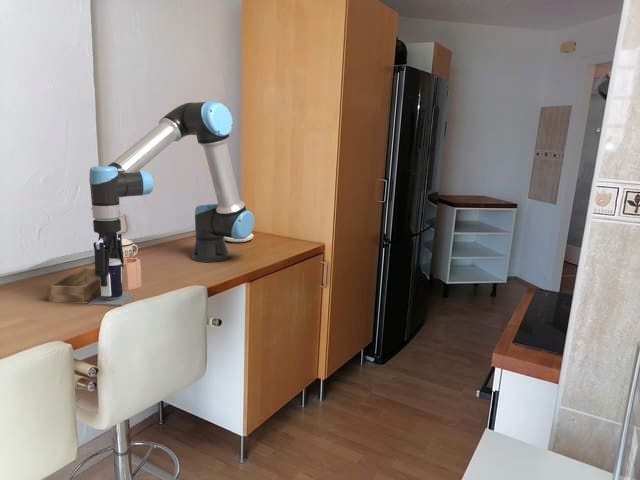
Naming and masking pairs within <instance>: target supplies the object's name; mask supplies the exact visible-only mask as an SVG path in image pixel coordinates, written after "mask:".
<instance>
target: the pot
mask: <svg viewBox="0 0 640 480" xmlns="http://www.w3.org/2000/svg"><path fill="white" fill-rule="evenodd" d="M123 259H124V264H122V265H124V267H123V268H122V291H131V290H137V289H139V288H140V287H141V286H142V270H141V269H142V268H141V267H142V266H141V259H140V258H137V257H133V258H123Z"/></svg>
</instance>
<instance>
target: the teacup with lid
mask: <svg viewBox="0 0 640 480" xmlns="http://www.w3.org/2000/svg"><path fill="white" fill-rule="evenodd" d="M133 247H134V248H133ZM122 250H123V258H134V257H135V256H136V255H137V253H138V250H139V248H138V245H137V244H136V243H135V244H134V242H133V240H131V239H127V238H125V237H124V236H123V235H122Z"/></svg>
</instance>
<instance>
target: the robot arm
mask: <svg viewBox="0 0 640 480" xmlns="http://www.w3.org/2000/svg"><path fill="white" fill-rule="evenodd" d="M233 121H234V120H233V117H232V114H231V112H230V110H229V109H228V107H227V106H226V105H224V104H223V103H220V102H216V101H215V102H214V101H202V102H200V101H199V102H185V103H183V104H181V105H179V106H177V107H175V108H174V109H172V110H171V111H169V112H168V113H166V114H165V115H164V116H163V117H161V118H160V120H159V121H158V125H157V126H155V127H154V128H153V129H151V130H150V131H149V132H148V133H147V134H145V135H144V136H143V137H141V138H140V139H139V140H137V142H136V143H134V144H133V145H132V146H130V147H129V148H127V150H126V151H124V152H123V153H122V154H120V156H118V157H117V158H115V159H114V160H113V161H112V162H111V163H109V164H108V165H98V166H96V165H95V166H92V167H90V169H89V185H90V186H89V187H90V188H89V189H90V197H91V208H90V210H91V212H92V218H93V220H92V225H93V226H92V228H93V232H94V233H95V234H98V240H97V242H96V241H95V242H93V250H94V268H95V275H96V276H100V285H101V294H100V295H101V296H111V283H110V275H108V271H109V260H110V259H111V258H115V259H120V261H121V263H122V264H124V259H123V250H122V236H123V234H122V233H118V232H121V230H122V225H121V224H122V223H121V219H120V217H121V208H120V206H121V205H120V198H126V197H128V198H129V197H137V196H138V197H139V196H140V197H141V196H145V195H150V194H151V193H152V192H153V191H154V186H155V185H154V184H155V183H154V182H155V181H154V178H153V176H152V174H151V173H149V172H148V171H140V170H141V169H143V168H144V167H145V166H146V165H147V164H148V163H150V162H151V161H152V160H153V159H155V158H156V157H157V156H158V155H159V154H160V153H162V152H163V151H164V150H165V149H166V148H168V147H169V146H170V145H171V144H172V143H173V142H179V141H180V140H181V139H183V138H185V137H187V136H188V137H189V136H196V140H197V143H198V144H199V145H201V146H202V147H203V149H204V154H205V157H206V161H207V165H208V169H209V173H210V176H211V180H212V185H213V189H214V193H215V197H216V200H217V203H208V204H201V205H200V204H199V205H197V206H196V207H195V208H194V209H195V210H194V226H195V227H194V228H195V242H194V246H193V249H192V252H191V258H192V260H193V261H195V262H201V263H216V262H217V261H218V262H222V261H226V260H228V259H229V249H228V246H227V244H226V240H224V237H229V238H234V239H245V238H247V237H248V236H249V235H250V234H251V233H252V232H253V229H254V228H255V223H256V220H255V216H254V214H253V212H251V211H250V210H247V206H246V203H245V201H243V200H241V198H240V195H239V190H238V186H237V182H236V177H235V173H234V169H233V168H234V167H233V164H232V161H231V160H232V159H231V155H230V151H229V148H228V143H227V142H228V140H229V139H230V133H231V131H232V129H233V126H234V125H233V124H234V123H233ZM218 262H217V263H218ZM123 267H124V265H122V268H123Z"/></svg>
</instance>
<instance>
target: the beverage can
mask: <svg viewBox="0 0 640 480" xmlns="http://www.w3.org/2000/svg"><path fill="white" fill-rule="evenodd" d="M108 275H110V283H111V296H103V297H104V298H105V299H108V300H114V299H118V298H120V297H121V296H122V293H123V290H122V263H121V261H120V259H115V258H111V259H110V260H109V271H108Z"/></svg>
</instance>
